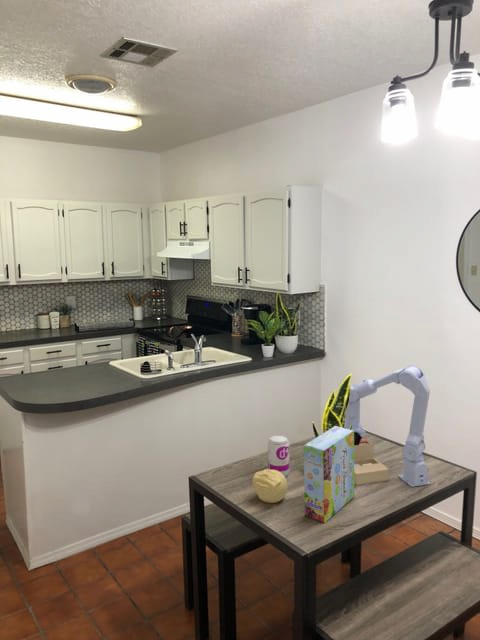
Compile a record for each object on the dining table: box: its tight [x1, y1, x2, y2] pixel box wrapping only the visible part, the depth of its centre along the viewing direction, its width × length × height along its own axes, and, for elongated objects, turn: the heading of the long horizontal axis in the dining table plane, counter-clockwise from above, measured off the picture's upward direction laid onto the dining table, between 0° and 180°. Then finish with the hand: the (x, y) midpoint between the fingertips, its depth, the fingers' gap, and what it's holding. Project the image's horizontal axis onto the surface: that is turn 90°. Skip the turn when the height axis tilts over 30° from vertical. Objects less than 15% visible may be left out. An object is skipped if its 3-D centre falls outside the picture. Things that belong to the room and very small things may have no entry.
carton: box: [354, 457, 390, 486], centre depth 200 cm, size 12×14×4 cm
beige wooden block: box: [354, 439, 375, 460], centre depth 207 cm, size 6×14×5 cm
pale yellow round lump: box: [251, 468, 288, 504], centre depth 183 cm, size 11×12×11 cm
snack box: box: [303, 425, 355, 524], centre depth 176 cm, size 22×9×26 cm, turn 141°
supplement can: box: [267, 434, 290, 478], centre depth 202 cm, size 8×8×15 cm
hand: (352, 447), depth 210 cm, fingers open, 4 cm apart
